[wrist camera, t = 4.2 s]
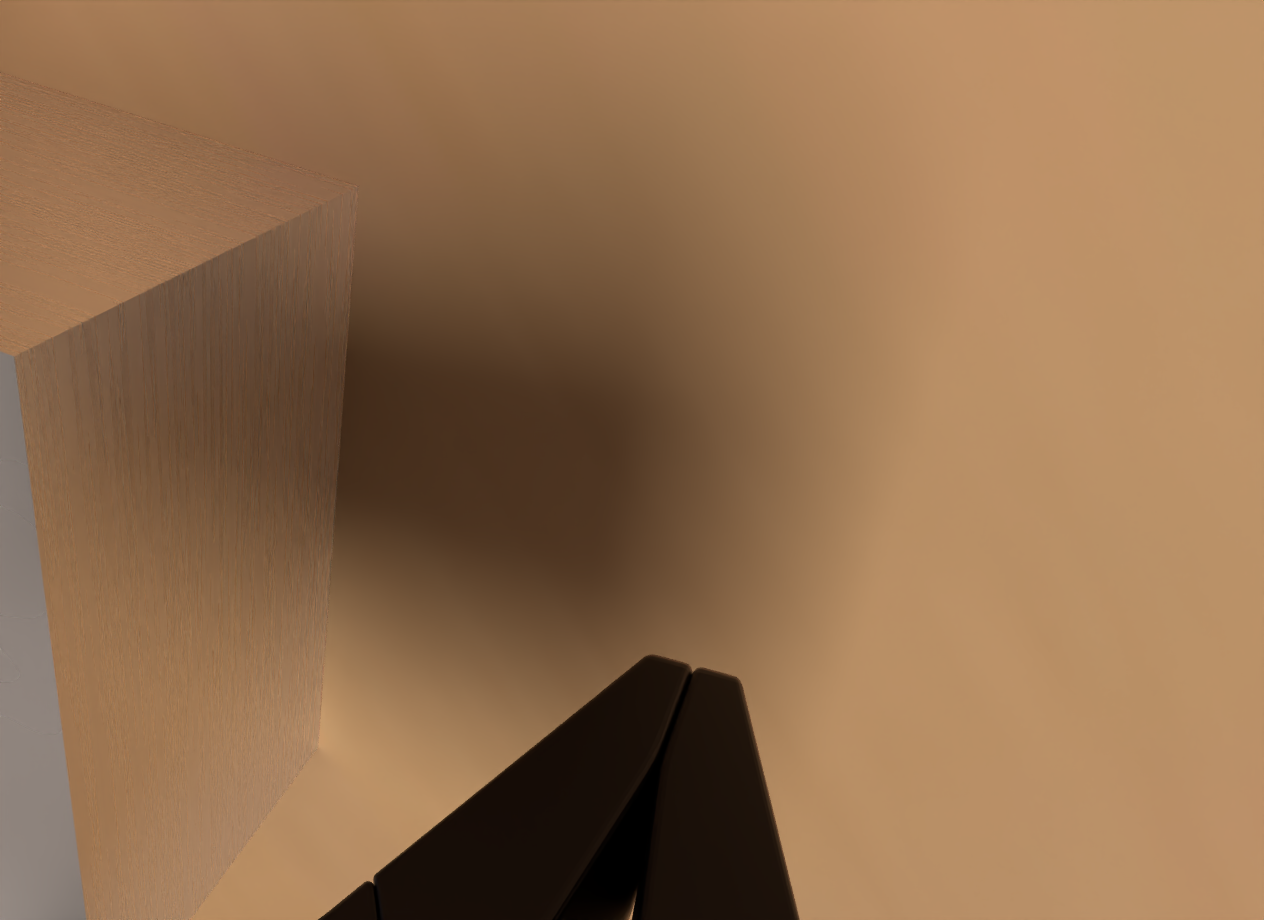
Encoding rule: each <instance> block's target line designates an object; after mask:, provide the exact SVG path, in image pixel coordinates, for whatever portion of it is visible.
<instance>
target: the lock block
mask: <svg viewBox="0 0 1264 920" xmlns="http://www.w3.org/2000/svg"><path fill="white" fill-rule="evenodd" d="M358 188H359V186H357V185H354V184H350V183H347V182H344V181H341V180H338V179H335V178H332V177H328V176H325V175H322V174H319V173H316V172H313V171H309V170H306V169H303V168H300V167H297V166H294V165H291V164H287V163H284V162H281V161H278V160H275V159H272V158H269V157H265V156H262V155H259V154H256V153H253V152H250V151H246V150H243V149H240V148H237V147H234V146H231V145H228V144H224V143H221V142H218V141H215V140H212V139H209V138H206V137H202V136H199V135H196V134H193V133H190V132H187V131H183V130H180V129H177V128H174V127H171V126H168V125H165V124H161V123H158V122H155V121H152V120H149V119H146V118H143V117H139V116H136V115H133V114H130V113H127V112H124V111H120V110H117V109H114V108H111V107H108V106H105V105H102V104H98V103H95V102H92V101H89V100H86V99H83V98H80V97H76V96H73V95H70V94H67V93H64V92H61V91H57V90H54V89H51V88H48V87H45V86H42V85H39V84H35V83H32V82H29V81H26V80H23V79H20V78H17V77H13V76H10V75H7V74H4V73H1V72H0V920H190V919H191V918H192V917H193V915H194V914H195V913H196V911H197V910H198V909H199V907H200V906H201V905H202V903H203V902H204V901H205V899H206V898H207V897H208V895H209V894H210V893H211V891H212V890H213V889H214V887H215V886H216V884H217V883H218V882H219V880H220V879H221V878H222V876H223V875H224V874H225V872H226V871H227V870H228V868H229V867H230V866H231V864H232V863H233V862H234V860H235V859H236V858H237V856H238V855H239V853H240V852H241V851H242V849H243V848H244V847H245V845H246V844H247V843H248V841H249V840H250V839H251V837H252V836H253V835H254V833H255V832H256V831H257V829H258V828H259V827H260V825H261V824H262V822H263V821H264V820H265V818H266V817H267V816H268V814H269V813H270V812H271V810H272V809H273V808H274V806H275V805H276V804H277V802H278V801H279V800H280V798H281V797H282V796H283V794H284V793H285V792H286V790H287V789H288V787H289V786H290V785H291V783H292V782H293V781H294V779H295V778H296V777H297V775H298V774H299V773H300V771H301V770H302V769H303V767H304V766H305V765H306V763H307V762H308V761H309V759H310V758H311V756H312V755H313V754H314V752H315V751H316V750H317V748H318V743H319V729H320V715H321V702H322V688H323V674H324V660H325V646H326V632H327V618H328V604H329V590H330V577H331V563H332V549H333V535H334V521H335V507H336V493H337V479H338V465H339V452H340V438H341V424H342V410H343V396H344V382H345V368H346V354H347V340H348V327H349V313H350V299H351V285H352V271H353V257H354V243H355V229H356V215H357V201H358Z"/></svg>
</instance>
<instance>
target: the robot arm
mask: <svg viewBox="0 0 1264 920" xmlns="http://www.w3.org/2000/svg"><path fill="white" fill-rule="evenodd" d="M634 902H635V905H634ZM633 905H634V911H633V916H632V920H800V919H799V915H798V911H797V907H796V903H795V899H794V894H793V890H792V886H791V882H790V878H789V874H788V870H787V866H786V862H785V858H784V854H783V850H782V845H781V841H780V837H779V833H778V829H777V825H776V821H775V817H774V813H773V809H772V805H771V800H770V796H769V792H768V788H767V784H766V780H765V776H764V772H763V768H762V764H761V760H760V756H759V751H758V747H757V743H756V739H755V735H754V731H753V727H752V723H751V719H750V715H749V711H748V706H747V702H746V698H745V694H744V690H743V686H742V684H741V682H740V680H739V679H738V678H737V677H735V676H732V675H728V674H724V673H721V672H717V671H713V670H710V669H706V668H697V669H696V670H695V671H694V672H693V673H692V669H691V667H690V666H689V664H687V663H684V662H680V661H676V660H673V659H669V658H665V657H661V656H658V655H648V656H645V657H644V658H643V659H641V660H640V661H639V662H638V663H636V664H635V665H634V666H633V667H631V668H630V669H629V670H628V671H626V672H625V673H624V674H623V675H622V676H620V677H619V678H618V679H617V680H615V681H614V682H613V683H612V684H610V685H609V686H608V687H607V688H605V689H604V690H603V691H602V692H600V693H599V694H598V695H597V696H596V697H594V698H593V699H592V700H591V701H589V702H588V703H587V704H586V705H584V706H583V707H582V708H581V709H579V710H578V711H577V712H576V713H574V714H573V715H572V716H571V717H570V718H568V719H567V720H566V721H565V722H563V723H562V724H561V725H560V726H558V727H557V728H556V729H555V730H553V731H552V732H551V733H550V734H548V735H547V736H546V737H545V738H543V739H542V740H541V741H540V742H539V743H537V744H536V745H535V746H534V747H532V748H531V749H530V750H529V751H527V752H526V753H525V754H524V755H522V756H521V757H520V758H519V759H517V760H516V761H515V762H514V763H513V764H511V765H510V766H509V767H508V768H506V769H505V770H504V771H503V772H501V773H500V774H499V775H498V776H496V777H495V778H494V779H493V780H491V781H490V782H489V783H488V784H487V785H485V786H484V787H483V788H482V789H480V790H479V791H478V792H477V793H475V794H474V795H473V796H472V797H470V798H469V799H468V800H467V801H465V802H464V803H463V804H462V805H461V806H459V807H458V808H457V809H456V810H454V811H453V812H452V813H451V814H449V815H448V816H447V817H446V818H444V819H443V820H442V821H441V822H439V823H438V824H437V825H436V826H435V827H433V828H432V829H431V830H430V831H428V832H427V833H426V834H425V835H423V836H422V837H421V838H420V839H418V840H417V841H416V842H415V843H413V844H412V845H411V846H410V847H409V848H407V849H406V850H405V851H404V852H402V853H401V854H400V855H399V856H397V857H396V858H395V859H394V860H392V861H391V862H390V863H389V864H387V865H386V866H385V867H384V868H382V869H381V870H380V871H379V872H378V873H376V874H375V876H374V878H373V883H372V882H370V881H367V882H364V883H363V884H362V885H361V886H359V887H358V888H357V889H356V890H355V891H353V892H352V893H351V894H350V895H348V896H347V897H346V898H345V899H343V900H342V901H341V902H340V903H339V904H337V905H336V906H335V907H334V908H332V909H331V910H330V911H329V912H328V913H326V914H325V915H324V916H322V917H321V918H320V919H318V920H629V917H630V915H631V912H632V909H633Z"/></svg>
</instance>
